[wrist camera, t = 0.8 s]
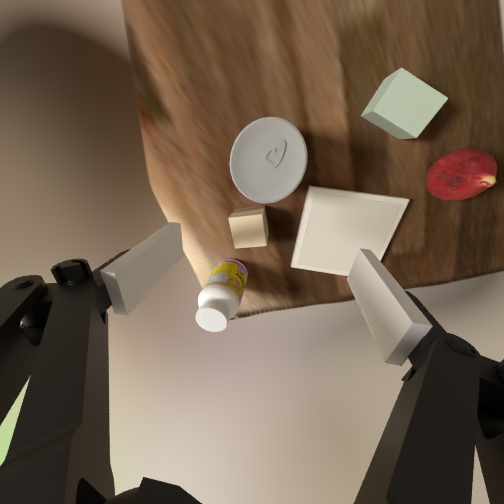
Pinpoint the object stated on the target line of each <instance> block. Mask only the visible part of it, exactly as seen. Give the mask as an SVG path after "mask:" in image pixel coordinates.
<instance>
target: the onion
mask: <svg viewBox="0 0 504 504" xmlns="http://www.w3.org/2000/svg"><path fill="white" fill-rule="evenodd" d="M496 173H497V164H496V162H495V159H494V157H493V156H492V155H490V154H488V153H487V152H485V151H483V150H480V149H461V150H457V151H453V152H449V153H448V154H446V155H444V156H443V157H441V158H439V159H438V160H436V161H435V162H434V163H433V165H432V166H431V167H430V168H429V169H428V171H427V174H426V176H425V184H426V188H427V189H428V191H429V192H430V193H431V194H432V195H433V196H435V197H437V198H439V199H442V200H454V201H456V200H463V199H467V198H471V197H474V196H476V195H478V194H479V193H481V192H482V191H484V190H486V189H487V188H488V187H491V186H492V185H494V184H495V183H496V179H495V177H496Z"/></svg>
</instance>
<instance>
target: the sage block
mask: <svg viewBox="0 0 504 504" xmlns="http://www.w3.org/2000/svg"><path fill="white" fill-rule="evenodd" d="M447 99H448V98H447V97H446V96H444V95H443V94H441V93H439V92H438V91H436V90H435V89H433V88H432V87H430V86H429V85H427V84H426V83H424V82H423V81H421V80H420V79H418V78H417V77H415V76H413V75H412V74H410V73H409V72H407V71H406V70H404V69H403V68H400V69H398V70H397V71H396V72H394V73H393V74H391V75H390V76H388V77H387V78H385V79H384V81H383V82H382V84H381V85H380V87H379V88H378V90H377V91H376V93H375V95H374V96H373V98H372V99H371V101H370V102H369V104H368V106H367V107H366V109H365V110H364V112H363V113H362V115H361V116H362V117H363V118H365V119H367V120H368V121H370V122H372V123H373V124H375V125H377V126H378V127H380V128H381V129H383V130H385V131H386V132H388V133H390V134H391V135H393V136H395V137H396V138H398V139H410V138H417V137H418V136H419V134H420V133H421V132H422V131H423V129H424V128H425V127H426V126H427V124H428V123H429V122H430V121H431V119H432V118H433V117H434V116H435V114H436V113H437V112H438V111H439V109H440V108H441V107H442V106H443V104H444V103H445V102H446V101H447Z"/></svg>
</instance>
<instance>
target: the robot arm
mask: <svg viewBox="0 0 504 504" xmlns="http://www.w3.org/2000/svg"><path fill="white" fill-rule="evenodd" d="M182 255H183V246H182V235H181V225H180V223H174V222H170V223H168V224H167V225H166V226H164V227H163V228H161V229H160V230H158V231H157V232H155V233H154V234H153V235H151V236H150V237H148V238H147V239H145V240H144V241H142V242H141V243H140V244H138V245H137V246H135V247H134V248H132V249H129V250H126V251H124V252H121V253H119V254H118V255H116V256H115V257H114V258H112V259H110V260H109V262H106V263H104V264H103V265H101V266H100V267H99V268H97V269H95V270H94V271H93V272H91V269H90V266H89V264H88V262H87V260H85V259H71V260H67V261H63V262H61V263H58V264H57V265H55V266H53V267H52V269H51V272H52V274H53V275H54V278H55V280H56V282H57V283H48V284H45V282H44V280H43V278H42V277H41V276H39V275H29V276H22V277H18V278H16V279H14V280H12V281H10V282H8V283H6V284H5V285H3V286H2V287H1V288H0V425H1V424H2V422H3V420H4V419H5V417H6V415H7V414H8V412H9V410H10V409H11V407H12V405H13V404H14V402H15V400H16V399H17V397H18V395H19V394H20V392H21V390H22V388H23V387H24V385H25V384H26V382H27V380H28V379H29V377H30V379H29V383H28V387H27V389H26V393H25V396H24V399H23V403H22V406H21V409H20V413H19V416H18V419H17V423H16V426H15V429H14V433H13V436H12V439H11V443H10V446H9V450H8V453H7V455H6V458H5V460H4V462H3V463H2V465H1V466H0V504H202V503H200V502H199V501H198V500H196V499H195V498H194V497H193V496H191V495H190V494H188V493H187V492H186V491H185V490H184V489H182V488H181V487H180V486H177V485H173V484H169V483H166V482H162V481H157V480H154V479H149V478H145V477H143V480H142V482H141V484H140V487H137V488H133V489H131V490H128V491H124V492H122V493H120V494H118V495H116V496H115V488H114V478H113V473H112V469H111V465H110V438H109V437H110V435H109V358H108V355H109V354H108V314H107V311H106V310H107V309H108V308H109V307H110V306H111V305H112V307H113V310H114V312H115V313H116V314H122V315H127V316H128V315H129V314H130V313H131V312H132V311H133V310H134V309H135V308H136V306H137V305H138V304H139V303H140V302H141V301H142V300H143V298H145V297H146V295H147V294H148V293H149V292H150V291H151V290H152V289H153V288H154V287H155V285H156V284H157V283H158V282H159V281H160V280H161V279H162V278H163V277H164V276H165V274H166V273H167V272H168V271H169V270H170V269H171V268H172V267H173V266H174V265H175V263H176V262H177V261H178V260H179V259H180V258H181V257H182ZM347 281H348V283H349V286H350V288H351V290H352V292H353V294H354V296H355V299H356V301H357V303H358V305H359V307H360V310H361V312H362V314H363V316H364V318H365V320H366V323H367V325H368V327H369V329H370V331H371V333H372V336H373V338H374V340H375V342H376V344H377V347H378V349H379V351H380V353H381V355H382V358H383V360H384V362H385V363H389V364H395V365H400V366H402V365H403V363H404V362H405V361H406V360H407V358H409V360H410V362H411V364H412V367H411V368H410V370H409V371H408V372H407V373H406V374H405V376H404V377H403V378H402V381H404V383H403V386H402V388H401V391H400V393H399V395H398V398H397V400H396V403H395V405H394V408H393V410H392V412H391V415H390V418H389V420H388V422H387V425H386V427H385V429H384V432H383V434H382V437H381V439H380V441H379V444H378V446H377V449H376V451H375V454H374V456H373V458H372V461H371V463H370V466H369V468H368V470H367V473H366V475H365V478H364V480H363V483H362V485H361V487H360V490H359V492H358V495H357V497H356V500H355V502H354V504H471V497H472V483H473V468H474V453H475V445H476V449H477V453H478V457H479V461H480V465H481V469H482V473H483V477H484V481H485V485H486V490H487V494H488V498H489V502H490V504H504V359H503V360H502V361H501V362H497V361H495V360H492V359H489V358H487V357H484V356H481V355H480V354H479V352H478V351H477V350H476V349H475V348H474V347H473V346H472V345H471V344H470V343H468V342H467V341H465V340H464V339H462V338H460V337H458V336H456V335H454V334H450V333H447V332H446V331H445V330H444V329H443V328H442V326H441V325H440V324H439V323H438V322H437V321H436V320H435V318H434V317H433V316H432V315H431V314H430V313H428V310H427V309H426V308H425V307H424V306H423V304H422V303H421V302H420V301H419V300H418V298H416V297H415V296H414V295H412V294H411V293H410V292H408V291H404V290H403V289H402V288H401V286H400V285H399V284H398V283H397V281H396V280H395V279H394V278H393V277H392V275H391V274H390V273H389V272H388V270H387V269H386V268H385V267H384V265H383V264H382V263H381V262H380V261H379V259H378V258H377V257H376V256H375V254H374V253H373V252H372V251H371V250H368V249H361V248H359V251H358V253H357V256H356V258H355V261H354V263H353V266H352V268H351V271H350V273H349V275H348V278H347ZM21 321H22V322H23V324H22V325H21V326H20V322H21ZM30 375H31V376H30Z"/></svg>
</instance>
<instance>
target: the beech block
mask: <svg viewBox="0 0 504 504" xmlns="http://www.w3.org/2000/svg"><path fill="white" fill-rule="evenodd" d="M228 219H229V223H230V228H231V232H232V237H233V241H234V246H235V248H246V247H258V246H266V245H267V240H268V234H269V233H268V226H267V218H266V210H265V205H264V206H256V207H248V208H240V209H235V210H234V212H233V213H232V214H231V215H230V217H229V218H228Z"/></svg>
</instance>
